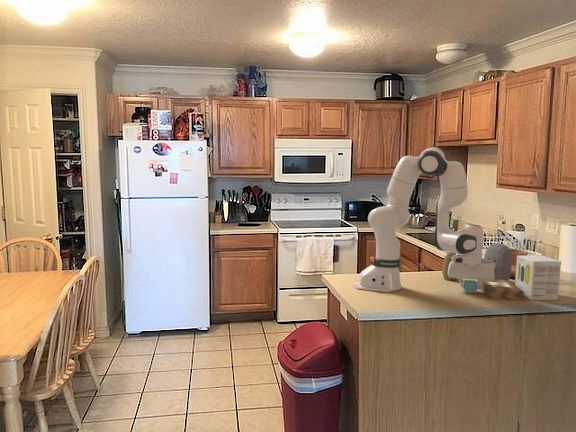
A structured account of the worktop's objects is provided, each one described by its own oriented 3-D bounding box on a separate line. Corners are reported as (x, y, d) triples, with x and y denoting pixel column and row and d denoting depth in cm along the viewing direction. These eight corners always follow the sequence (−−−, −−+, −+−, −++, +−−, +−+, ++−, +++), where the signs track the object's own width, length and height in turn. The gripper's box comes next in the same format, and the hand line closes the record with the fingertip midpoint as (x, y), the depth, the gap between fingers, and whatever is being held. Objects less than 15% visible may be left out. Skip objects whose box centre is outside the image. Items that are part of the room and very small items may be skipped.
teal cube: (465, 292, 217) (465, 282, 217) (462, 289, 222) (463, 279, 221) (476, 293, 217) (477, 282, 216) (473, 290, 221) (474, 279, 221)
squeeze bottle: (442, 280, 239) (444, 245, 237) (441, 276, 247) (443, 243, 245) (459, 281, 237) (461, 246, 235) (457, 278, 245) (459, 243, 243)
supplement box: (513, 292, 220) (516, 255, 218) (540, 291, 222) (542, 255, 220) (530, 300, 207) (533, 261, 205) (558, 300, 209) (562, 261, 207)
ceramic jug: (536, 278, 248) (538, 251, 246) (521, 281, 240) (523, 254, 238) (503, 271, 263) (505, 246, 261) (488, 274, 254) (490, 248, 253)
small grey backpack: (513, 284, 234) (516, 244, 232) (502, 286, 230) (505, 246, 228) (488, 277, 247) (491, 240, 245) (477, 279, 244) (479, 241, 241)
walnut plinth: (489, 298, 209) (490, 289, 208) (477, 286, 228) (477, 278, 228) (523, 300, 207) (523, 291, 207) (507, 288, 227) (508, 279, 226)
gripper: (494, 259, 218) (492, 288, 220) (448, 256, 223) (446, 284, 225) (497, 261, 212) (495, 291, 214) (449, 258, 217) (447, 288, 218)
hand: (469, 288), depth 219 cm, fingers closed on teal cube, 5 cm apart
